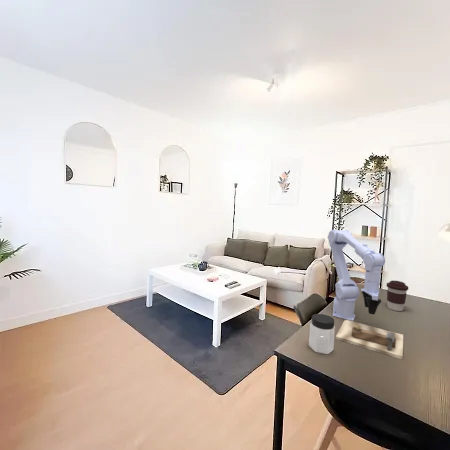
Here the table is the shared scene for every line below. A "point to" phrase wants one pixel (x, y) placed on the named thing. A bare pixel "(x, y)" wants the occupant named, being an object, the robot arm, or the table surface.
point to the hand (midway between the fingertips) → (369, 310)
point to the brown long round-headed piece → (372, 336)
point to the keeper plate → (346, 336)
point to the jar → (322, 333)
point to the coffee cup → (396, 295)
